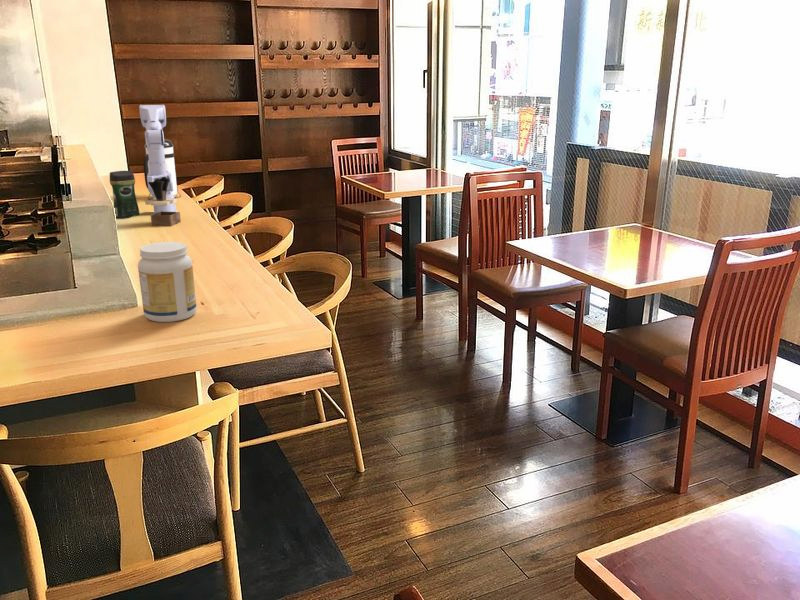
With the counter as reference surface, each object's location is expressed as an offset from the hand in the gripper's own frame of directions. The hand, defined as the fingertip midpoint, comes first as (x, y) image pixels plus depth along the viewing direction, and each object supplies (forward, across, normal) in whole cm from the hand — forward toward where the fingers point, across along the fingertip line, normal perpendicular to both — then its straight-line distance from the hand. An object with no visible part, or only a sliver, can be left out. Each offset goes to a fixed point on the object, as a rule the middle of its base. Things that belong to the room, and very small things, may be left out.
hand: (161, 198), depth 259 cm
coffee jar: (+11, -14, -23) cm, 28 cm away
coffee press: (+11, -57, -27) cm, 64 cm away
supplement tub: (+10, +100, +50) cm, 112 cm away
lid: (+2, 0, 0) cm, 2 cm away
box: (+10, 0, +1) cm, 10 cm away
